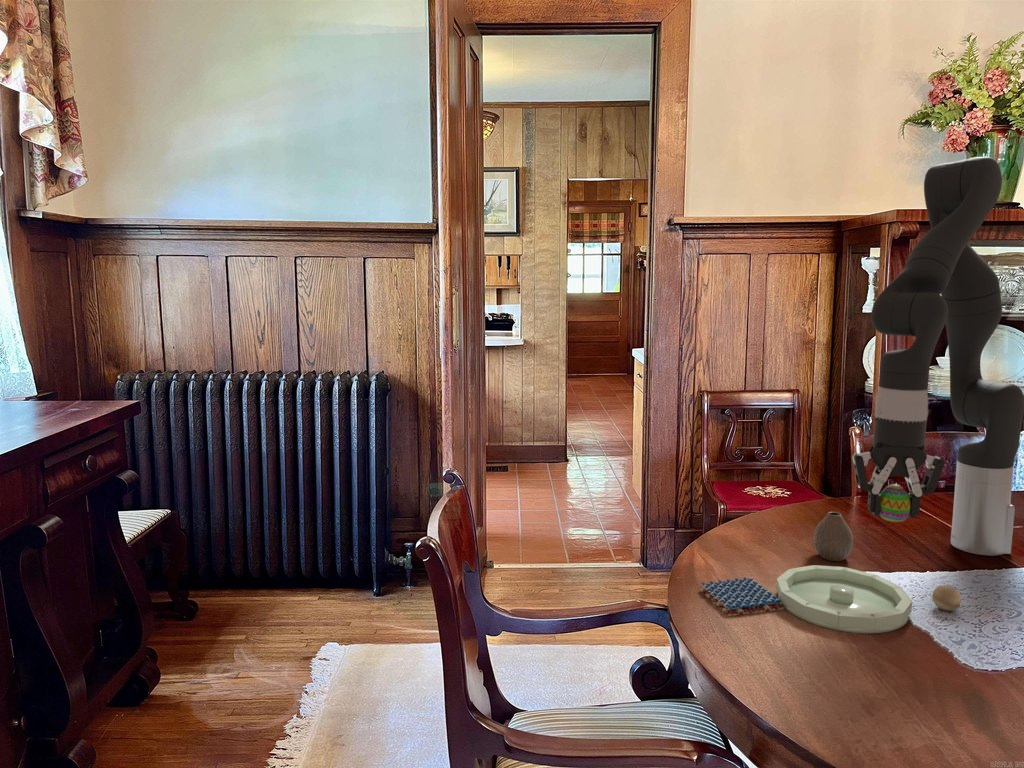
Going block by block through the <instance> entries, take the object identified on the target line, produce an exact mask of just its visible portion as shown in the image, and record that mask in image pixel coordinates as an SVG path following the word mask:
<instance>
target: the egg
mask: <svg viewBox="0 0 1024 768" xmlns="http://www.w3.org/2000/svg"><path fill="white" fill-rule="evenodd" d="M879 494H880V495H881V497H880V510H879V516H880V517H881V518H882V520H885V521H888V522H894V523H902V522H904V521H906V520H907V518H909V517H908V515H909V513H910V509H911V503H910V499H909V496H908V491H906V490H905V488H904V487H903V486H901V485H900V484H897V483H892V484H889V485H887V486H885V488H883V489H882V490H881V491H880V493H879Z"/></svg>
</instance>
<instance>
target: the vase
mask: <svg viewBox="0 0 1024 768" xmlns="http://www.w3.org/2000/svg"><path fill="white" fill-rule="evenodd" d="M853 537H854V536H853V533H852V530H851V528H850V527H849V525H848V523H847V522H846V521H845V519H844V518H843V516H842V513H840V512H838V511H828V512H827V513H826V515H825V516H824V518H823V519H822V520H820V522H818V524H817V525H816V528H814V533H813V546H814V548H815V551H816V553H817V554H818V555H819V557H821V558H822V559H823V560H825V561H831V562H841V561H844V560H845V559H847V558H848V557H849V555H850V554H851V552H852V550H853V546H854V545H853V544H854V538H853Z"/></svg>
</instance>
